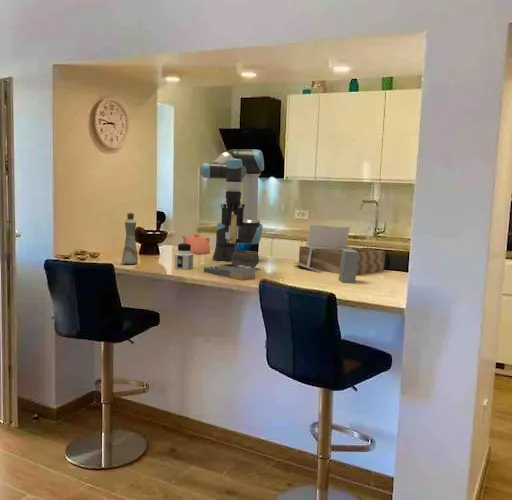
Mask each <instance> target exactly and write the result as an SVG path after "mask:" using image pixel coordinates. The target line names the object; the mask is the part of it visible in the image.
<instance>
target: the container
mask: <svg viewBox="0 0 512 500" xmlns="http://www.w3.org/2000/svg"><path fill="white" fill-rule="evenodd" d="M190 252H191V245H190V244H186V243H183V242H182V243H178V245H177V253H175V254H174V269H175V270H176V269H177V270H178V269H179V270H190V268H191V269H192V268H194V255H193V253H190Z"/></svg>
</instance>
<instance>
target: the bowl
mask: <svg viewBox="0 0 512 500" xmlns="http://www.w3.org/2000/svg"><path fill="white" fill-rule="evenodd" d="M231 257H232V262H231V264H236V265H245V266H250V267H252V268H256V267H257V266H258V264H259V262H260V259H259V258H260V256H259V253H258V251H255V250H253V251H252V250H237V251H235V252H234V253H233V255H232V256H231Z"/></svg>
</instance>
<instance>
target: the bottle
mask: <svg viewBox="0 0 512 500" xmlns="http://www.w3.org/2000/svg"><path fill="white" fill-rule="evenodd" d="M126 214H127V215H126V217H127V219H126V220H125V221H124V228H125V240H124V246H123V253H122V257H121V263H122V264H127V265H136V264H138V263H139V257H138V250H137V244H136V243H137V242H136V236H135V235H136V234H135V233H136V227H137V222H136V220H135V218H134V215H135V213H134V212H131V211H130V212H127V213H126Z"/></svg>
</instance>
